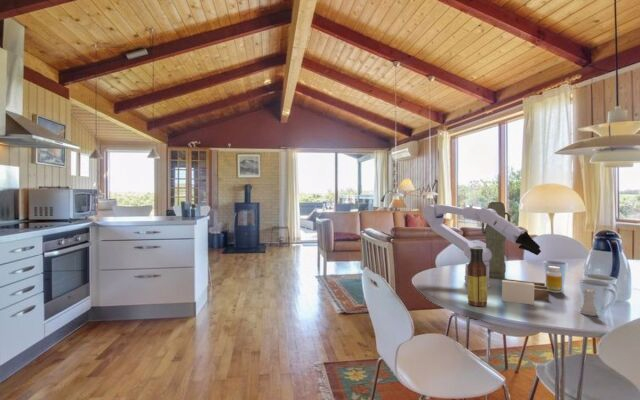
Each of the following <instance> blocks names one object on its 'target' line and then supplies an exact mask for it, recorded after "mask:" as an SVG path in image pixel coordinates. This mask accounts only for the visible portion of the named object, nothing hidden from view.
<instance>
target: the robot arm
mask: <svg viewBox="0 0 640 400" xmlns="http://www.w3.org/2000/svg"><path fill="white" fill-rule="evenodd" d="M447 214H451V215H453V214H454V215H460V216H462V217H463V218H464V219H465V220H471V221H476V222H480V223H481V224H482V223H484V224H487V223H488V225H490V226H491V227H492V228H494V229H495V230H497V231H498V232H499V233H501V234H502V235H504V236H505V237H506V239H508V241H509V240H510V242H511V243H512V244H518V249H520V250H524V251H527V252H529V253H531V254H534V255H536V256H538V255H540V254H541V252H542V250H541V249H540V248H541V246H540V245H539V244H538V243H537V242H536V241H535V240H534V239H533V238H532V237H531V235H530V234H529V233H528V231H526V228H525V227H524V228H522V229H521V228H519V227H517V225H515V224H514V223H512V222H511V221H510V222H509V221H508V219H506V218H505V219H504V218H503V217H501V216H500V215H498V214H497V212H496V211H495V210H493V209H491V208H490V209H487V208H486V209H485V206H481V207H479V206H478V207H477V206H474V204H473V205H472V204H469V205H466V206H465V207H459V206H454V205H449V204H426V205H424V207H423V208H422V217H423V218H424V220H426V222H427V224H428V225H429V227H430V229H431V230H432V231H433V232H435V233H436V234H437V235H439V236H440V237H442V238H443V239H444V240H446V241H448V242H449V243H451V244H452V245H453V246H455V247H457V248H458V249H459V250H461V251H462V252H463V254H464V256H466V257H467V258H468V260H469V262H465V272H464V273H465V275H464V285H466V286H468V282H467V274H468V264H469V263H470V261H471V252H470V248H471V247H479V248H483V253H482V259H483V262H484V264H485V266H486V275H487V288H491V282H490V278H489V260H490V259H491V258H492V253H491V251H490V250H489V249H488V248H486V246H481V245H479V244H477V243H475V242H472V241H470V240H469V239H468V238H465V237H464V236H463V235H461V234H460V233H458V232H456V231H455V230H453V229H452V228H450V227H449V226H447V225H446V224H444V217H445V215H447Z"/></svg>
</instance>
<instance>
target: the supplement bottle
mask: <svg viewBox="0 0 640 400" xmlns="http://www.w3.org/2000/svg"><path fill="white" fill-rule="evenodd" d="M547 270H548V271H546V272H545V286H547V290H549V293H554V294H555V293H556V294H557V293H562V286H563V285H562V284H563V281H562V280H563V274H562V273H561V267H560V266H554V265H548V266H547Z"/></svg>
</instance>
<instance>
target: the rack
mask: <svg viewBox="0 0 640 400" xmlns="http://www.w3.org/2000/svg"><path fill="white" fill-rule="evenodd" d="M502 280H508V281H517V282H527V283H534V299H536V300H545V301H549V300H550V291H549V290H547V286H546V282H536V281H528V280H518V279H511V278H510V279H509V278H504V279H501V281H502Z"/></svg>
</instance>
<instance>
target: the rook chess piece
mask: <svg viewBox="0 0 640 400" xmlns="http://www.w3.org/2000/svg"><path fill="white" fill-rule="evenodd" d="M582 292H583V294H584V295H583V297H584V298H583V299H584V300H583V304H582V306H580V313H581V314H582V315H585V316H590V317H596V316H597V315H598V310H597V308H596V306H595V300H594V299H595V297H594V296H595V295H596V292H595V290H594V289H592V288H584V289H583V290H582Z"/></svg>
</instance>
